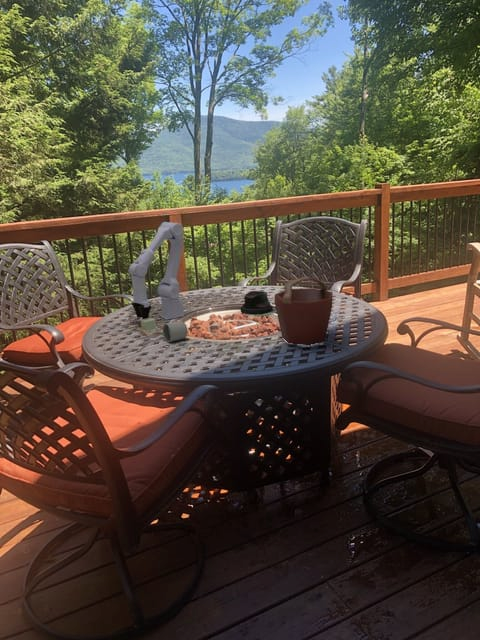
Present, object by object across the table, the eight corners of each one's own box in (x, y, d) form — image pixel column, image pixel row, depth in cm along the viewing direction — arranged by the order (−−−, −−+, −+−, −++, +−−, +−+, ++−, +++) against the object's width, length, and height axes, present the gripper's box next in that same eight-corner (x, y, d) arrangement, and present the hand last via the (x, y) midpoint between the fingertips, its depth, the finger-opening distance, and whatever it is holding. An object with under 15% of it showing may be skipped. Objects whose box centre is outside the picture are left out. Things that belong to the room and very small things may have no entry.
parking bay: (159, 325, 217) (159, 323, 216) (169, 332, 207) (169, 329, 207) (137, 330, 212) (137, 327, 211) (147, 337, 202) (147, 334, 202)
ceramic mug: (189, 339, 197) (188, 321, 195) (171, 344, 192) (169, 325, 190) (177, 334, 205) (175, 316, 203) (159, 338, 201) (157, 320, 199)
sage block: (151, 325, 217) (151, 317, 216) (156, 328, 213) (155, 319, 212) (141, 327, 215) (140, 319, 214) (145, 330, 211) (144, 321, 210)
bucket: (292, 354, 177) (292, 288, 170) (262, 338, 196) (260, 277, 188) (345, 342, 187) (347, 279, 180) (312, 327, 206) (312, 269, 199)
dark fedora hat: (241, 305, 247) (240, 287, 244) (280, 305, 243) (279, 287, 240) (232, 316, 228) (231, 297, 225) (274, 317, 224) (273, 297, 221)
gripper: (125, 288, 219) (128, 317, 223) (136, 294, 207) (139, 324, 211) (140, 286, 223) (143, 314, 227) (152, 292, 211) (154, 321, 215)
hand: (142, 319), depth 219 cm, fingers open, 7 cm apart
